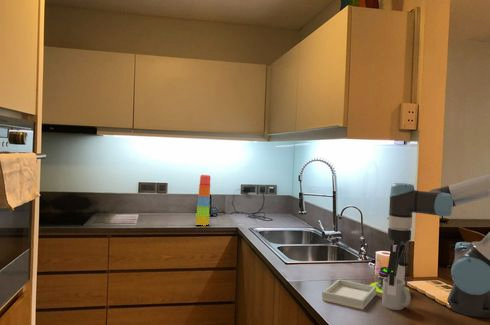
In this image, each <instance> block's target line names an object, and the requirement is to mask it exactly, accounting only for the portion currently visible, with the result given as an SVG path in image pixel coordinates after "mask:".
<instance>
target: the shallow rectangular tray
mask: <svg viewBox="0 0 490 325" xmlns="http://www.w3.org/2000/svg"><path fill="white" fill-rule="evenodd" d="M376 295H377V292H376V287H375V286H370V284H363V283H359V282H354V281H350V280H345V279H344V280H343V279H340V278H339V279H337V280H336V281H334V282H333V283H332V284H331V285H329V286H328V287H327V288H325V289H323V291H322V293H321V300H322V301H324V302H325V301H326V302H329V303H333V304H337V305H342V306H345V307H351V308H354V309H359V310H364V309H365V308H366V306H368V304H369V303H370V302H371V301H372V300H373V299H374V298H375V297H376Z"/></svg>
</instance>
